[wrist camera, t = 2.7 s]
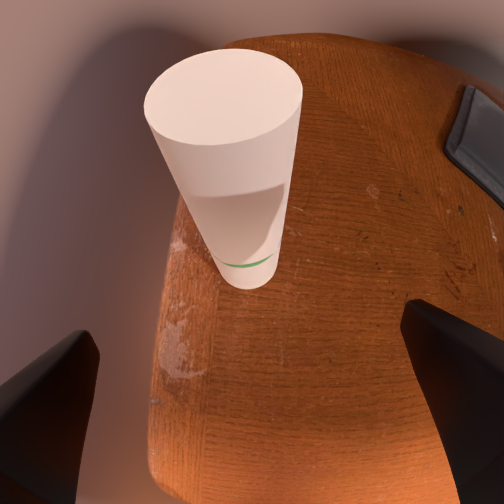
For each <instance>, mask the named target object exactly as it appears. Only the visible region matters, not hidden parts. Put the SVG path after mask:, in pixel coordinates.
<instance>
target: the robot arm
mask: <svg viewBox="0 0 504 504" xmlns="http://www.w3.org/2000/svg"><path fill="white" fill-rule="evenodd" d="M400 329H401V333H402V336H403V339H404V342H405V345H406V348H407V351H408V354H409V357H410V360H411V363H412V366H413V369H414V372H415V375H416V377H417V380H418V382H419V385H420V387H421V389H422V392H423V394H424V396H425V399H426V401H427V404H428V406H429V409H430V411H431V414H432V416H433V419H434V422H435V424H436V427H437V430H438V432H439V435H440V438H441V441H442V444H443V447H444V449H445V452H446V455H447V458H448V462H449V465H450V468H451V471H452V474H453V478H454V481H455V484H456V488H457V492H458V496H459V500H460V504H504V341H502V340H500V339H498V338H497V337H495V336H493V335H491V334H489V333H487V332H485V331H483V330H481V329H479V328H477V327H475V326H473V325H471V324H470V323H468V322H466V321H464V320H462V319H460V318H458V317H456V316H454V315H452V314H450V313H448V312H446V311H444V310H442V309H440V308H438V307H436V306H434V305H432V304H430V303H428V302H426V301H424V300H421V299H414V300H409V301H408V302H407V303H406V304H405V308H404V312H403V316H402V320H401V324H400ZM99 361H100V353H99V350H98V348H97V346H96V344H95V342H94V340H93V338H92V336H91V334H90V333H89V332H88V331H87V330H75V331H74V332H72V333H71V334H69V335H68V336H67V337H65V338H64V339H62V340H61V341H60V342H58V343H57V344H56V345H54V346H53V347H51V348H50V349H49V350H47V351H46V352H45V353H43V354H42V355H40V356H39V357H38V358H36V359H35V360H34V361H32V362H31V363H30V364H28V365H27V366H26V367H25V368H23V369H22V370H20V371H19V372H18V373H16V374H15V375H14V376H13V377H11V378H10V379H9V380H8V381H6V382H5V383H3V384H2V385H1V386H0V504H75V501H76V492H77V484H78V477H79V470H80V464H81V458H82V451H83V446H84V441H85V436H86V431H87V426H88V422H89V417H90V412H91V409H92V404H93V399H94V392H95V385H96V379H97V372H98V366H99Z"/></svg>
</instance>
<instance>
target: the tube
mask: <svg viewBox="0 0 504 504" xmlns="http://www.w3.org/2000/svg"><path fill="white" fill-rule="evenodd" d="M301 103H302V84H301V81H300V79H299V77H298V75H297V74H296V73H295V71H294V70H293V69H292V68H291V67H290V66H289V65H287V64H286V63H285V62H283V61H281V60H280V59H278V58H276V57H274V56H271V55H268V54H266V53H262V52H258V51H253V50H245V49H223V50H215V51H210V52H205V53H201V54H198V55H195V56H192V57H190V58H187V59H185V60H183V61H181V62H179V63H177V64H175V65H174V66H172V67H170V68H169V69H168V70H166V71H165V72H164V73H163V74H161V75H160V76H159V77H158V78H157V79H156V81H155V82H154V83H153V84H152V85H151V87H150V89H149V91H148V93H147V95H146V98H145V102H144V112H145V117H146V119H147V121H148V123H149V126H150V128H151V130H152V132H153V135H154V137H155V139H156V141H157V144H158V146H159V147H160V150H161V152H162V154H163V157H164V159H165V161H166V163H167V165H168V167H169V170H170V172H171V174H172V176H173V178H174V180H175V182H176V184H177V187H178V188H179V191H180V193H181V195H182V197H183V199H184V201H185V203H186V205H187V207H188V210H189V212H190V214H191V216H192V218H193V220H194V222H195V224H196V226H197V228H198V230H199V232H200V234H201V236H202V238H203V240H204V242H205V244H206V246H207V248H208V250H209V252H210V254H211V256H212V258H213V260H214V262H215V264H216V266H217V267H218V269H219V271H220V273H221V275H222V277H223V278H224V279H225V280H226V281H227V282H228V283H229V284H230V285H232V286H234V287H237V288H240V289H254V288H257V287H260V286H262V285H264V284H265V283H266V282H268V281H269V280H270V279H271V277H272V276H273V274H274V273H275V271H276V267H277V263H278V257H279V251H280V245H281V239H282V233H283V226H284V219H285V213H286V207H287V200H288V194H289V187H290V181H291V174H292V168H293V161H294V154H295V147H296V140H297V133H298V125H299V118H300V111H301Z"/></svg>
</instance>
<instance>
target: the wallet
mask: <svg viewBox="0 0 504 504" xmlns="http://www.w3.org/2000/svg"><path fill="white" fill-rule="evenodd" d="M444 152H445V153H446V155H447V156H448V158H449V159H450V160H451V161H452V162H453V163H454V164H455V165H457V166H458V167H459V168H460V169H461V170H462V171H463V172H465V173H466V174H467V175H468V176H469V177H471V178H472V179H473V180H474V181H475V182H476V183H477V184H479V185H480V186H481V187H482V188H483V189H484V190H485V191H486V192H487V193H488V194H489V195H491V196H492V197H493V198H494V199H495V200H496V201H497V202H498V203H499V204H500V205H501V206H502V207H503V209H504V111H503V110H502V109H501V108H500V107H499V106H497V105H496V104H495V103H494V102H493V101H492V100H490V99H489V98H488V97H487V96H485V95H484V94H483V93H482V92H480V91H479V90H478V89H476V88H475V87H473V86H471V85H468V84H467V86H466V88H465V90H464V93H463V96H462V100H461V103H460V107H459V110H458V113H457V116H456V118H455V121H454V123H453V126H452V128H451V130H450V133H449V135H448V137H447V139H446V141H445V146H444Z"/></svg>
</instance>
